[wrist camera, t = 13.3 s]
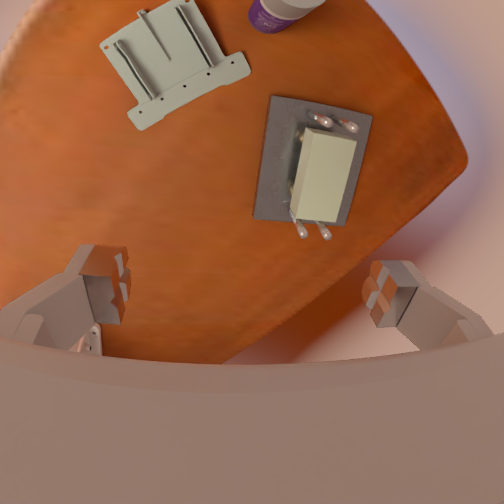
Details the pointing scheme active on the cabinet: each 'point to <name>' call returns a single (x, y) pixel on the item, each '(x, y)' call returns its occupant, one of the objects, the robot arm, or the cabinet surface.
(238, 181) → the cabinet surface
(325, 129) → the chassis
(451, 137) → the cabinet surface
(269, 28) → the container
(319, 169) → the board
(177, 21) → the metal bracket
